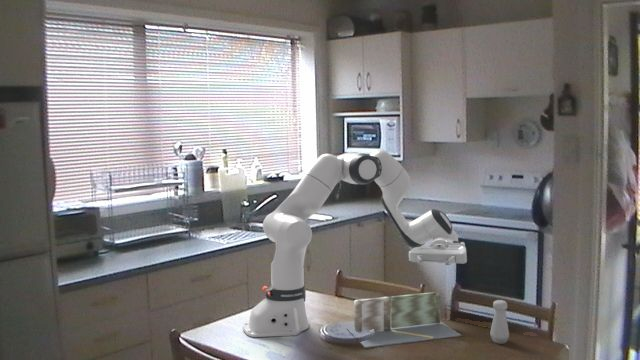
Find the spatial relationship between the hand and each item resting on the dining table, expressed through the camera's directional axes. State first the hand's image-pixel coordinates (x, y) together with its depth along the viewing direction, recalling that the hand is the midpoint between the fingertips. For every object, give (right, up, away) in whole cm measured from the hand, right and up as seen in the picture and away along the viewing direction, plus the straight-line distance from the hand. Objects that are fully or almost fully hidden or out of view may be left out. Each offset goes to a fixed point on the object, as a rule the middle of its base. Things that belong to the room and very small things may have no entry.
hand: (433, 262), depth 210 cm
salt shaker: (+18, -23, -17) cm, 33 cm away
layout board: (-12, -22, -8) cm, 26 cm away
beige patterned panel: (-22, -22, -7) cm, 32 cm away
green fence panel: (-7, -21, -3) cm, 22 cm away
